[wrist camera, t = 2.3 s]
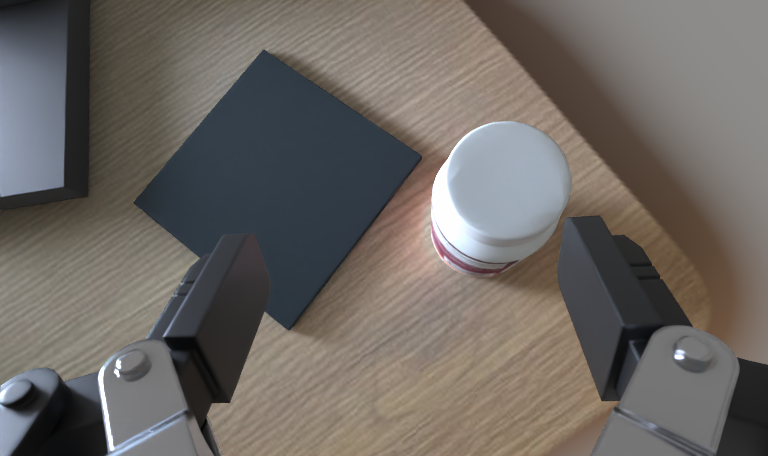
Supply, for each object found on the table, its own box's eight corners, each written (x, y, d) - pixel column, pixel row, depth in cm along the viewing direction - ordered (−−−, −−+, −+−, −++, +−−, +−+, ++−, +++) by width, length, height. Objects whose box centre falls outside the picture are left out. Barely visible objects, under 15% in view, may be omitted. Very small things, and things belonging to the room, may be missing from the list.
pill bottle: (492, 168, 23) (530, 83, 15) (545, 248, 22) (616, 203, 14) (412, 214, 23) (405, 153, 15) (461, 296, 22) (483, 279, 14)
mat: (265, 52, 26) (263, 48, 25) (422, 158, 24) (422, 155, 23) (137, 204, 24) (132, 202, 24) (290, 330, 22) (287, 330, 22)
